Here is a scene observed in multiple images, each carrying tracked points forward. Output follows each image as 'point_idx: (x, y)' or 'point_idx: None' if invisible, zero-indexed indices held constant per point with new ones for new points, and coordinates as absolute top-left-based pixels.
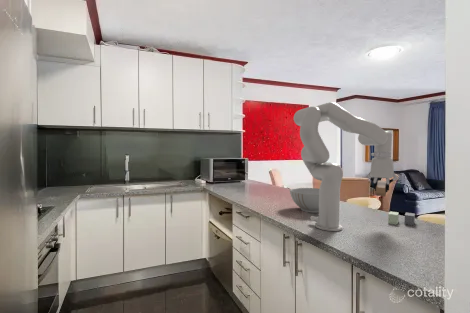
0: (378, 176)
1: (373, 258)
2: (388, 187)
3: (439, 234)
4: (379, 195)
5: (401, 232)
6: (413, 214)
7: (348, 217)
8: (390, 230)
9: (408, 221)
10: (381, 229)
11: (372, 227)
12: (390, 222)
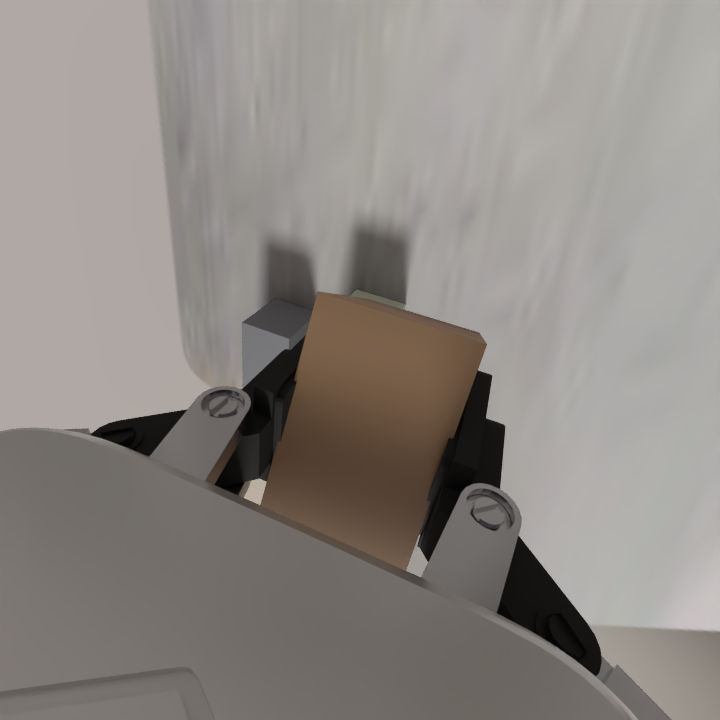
0: (353, 582)
1: None
2: (267, 369)
3: (163, 155)
4: (436, 320)
5: (344, 57)
6: (247, 369)
7: (700, 370)
8: (416, 74)
9: (289, 314)
10: (485, 62)
11: (555, 94)
12: (390, 302)
